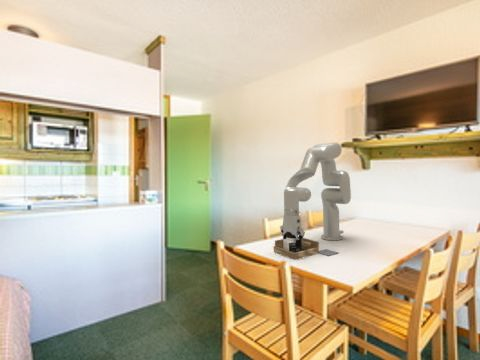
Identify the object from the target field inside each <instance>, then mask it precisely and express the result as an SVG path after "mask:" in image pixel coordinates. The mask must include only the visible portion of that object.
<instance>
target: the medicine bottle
mask: <svg viewBox="0 0 480 360" xmlns="http://www.w3.org/2000/svg"><path fill="white" fill-rule="evenodd" d="M282 239H283V238H282ZM296 240H297V238H296V236H295V235H292V233H290V232H286V239H283V249H285V250H288V251H291V252H294V253H297V252H300V251H302V246H301V247H298V248H297V247H296Z"/></svg>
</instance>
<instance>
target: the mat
mask: <svg viewBox="0 0 480 360" xmlns="http://www.w3.org/2000/svg"><path fill="white" fill-rule="evenodd" d="M319 254H320V255H323V256H326V257H331V256H333V255H338V254H340V253H339V252H338V251H335V250H331V249H328V248H324V249H319V253H318V255H319Z"/></svg>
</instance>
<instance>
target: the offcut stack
mask: <svg viewBox="0 0 480 360" xmlns="http://www.w3.org/2000/svg"><path fill="white" fill-rule="evenodd" d="M301 243H302V251H304V250H308V249H312V248H311V243H309V242H306V241H303V240H301Z"/></svg>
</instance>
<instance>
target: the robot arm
mask: <svg viewBox="0 0 480 360" xmlns="http://www.w3.org/2000/svg"><path fill="white" fill-rule="evenodd" d="M341 154H342V146H341V144H339V143H338V142H328V143H318V144H315V145H313V146H312V147H310V148H308V149H306V152H305V154H304V157H303V161H302V163H301V165H300V168H299V169H298V170H297V171H296V172H295V173H294V174H293V175H292V176H291V177H290V178H289V179H288V182H287V184H286V186H285V189H284V190H283V208H284V209H283V212H284V213H283V218H282V225H281V226H280V227H279V229H280V233H281V235H282V239H286V232H290V233H292V235H295V236H296V238H297V240H296V247H297V248H298V247H301V246H302V243H301V239H302V238H305V233H306V231H305V230H303V225H302V218H301V215H300V211H299V210H300V205H299V204H300V202H304V203H305V202H308V201H309V200H310V199H311V198H312V197H311V196H312V192H311V190H310V188H308V187H298V185H300V184H301V183H302V182H303V181H306V180H308V179H310V178H312V177H314V176H315V174H316V172H317V169H318V166H319V163H320V166H321V167H320V168H321V177H322V179H321V180H322V183H323V185H325V186H328V187H326V188H323V189H322V191H321V193H320V195H321V196H320V197H321V200H322V201H321V202H322V215H323V216H322V217H323V220H322V221H323V222H322V223H323V234H321V235H320V237H321V239H323V240H327V241H340V240H342V239H343V236H342V235H341V234H344V230H341V229H340V209H339V207H338V205H348V204H349V203H350V202H351V199H352V191H351V190H352V189H351V180H350V179H351V178H350V175H349V173H348V171H346V170H337V164H336V161H335V159H337V158H338V157H340V156H341ZM337 187H338V188H337Z"/></svg>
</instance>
